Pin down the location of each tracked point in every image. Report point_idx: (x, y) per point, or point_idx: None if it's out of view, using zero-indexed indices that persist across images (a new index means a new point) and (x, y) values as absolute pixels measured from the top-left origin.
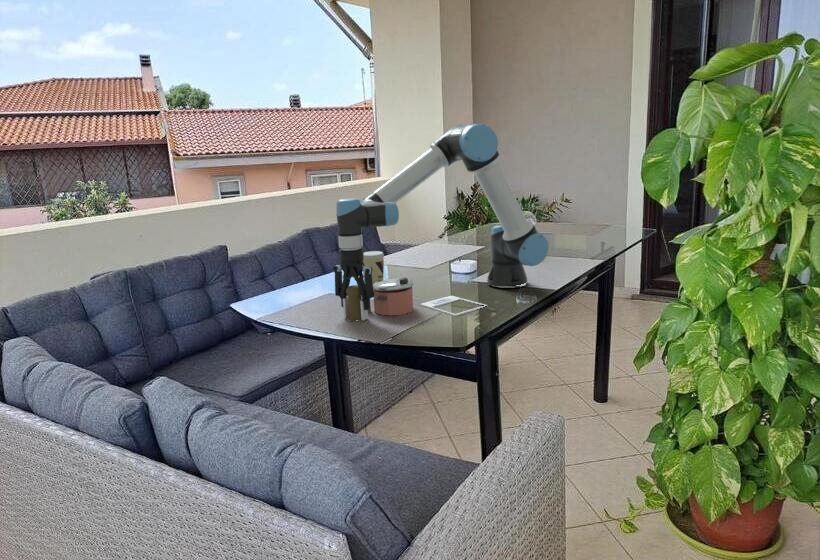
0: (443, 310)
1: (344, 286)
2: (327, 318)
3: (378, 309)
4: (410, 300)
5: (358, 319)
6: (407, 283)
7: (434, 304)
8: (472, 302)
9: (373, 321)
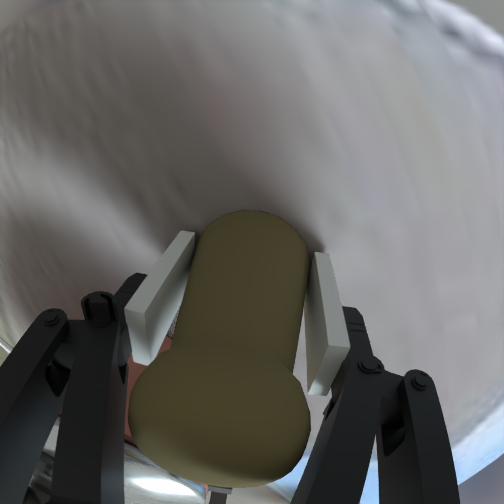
0: None
1: (329, 466)
2: (430, 241)
3: (158, 354)
4: None
5: (210, 228)
6: None
7: None
8: None
9: (128, 235)
